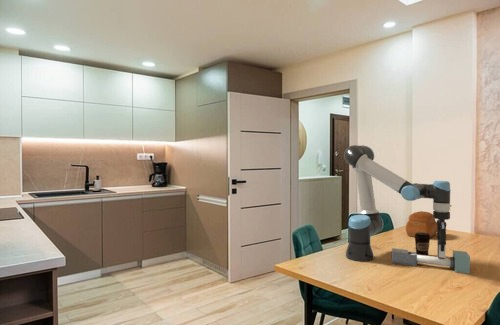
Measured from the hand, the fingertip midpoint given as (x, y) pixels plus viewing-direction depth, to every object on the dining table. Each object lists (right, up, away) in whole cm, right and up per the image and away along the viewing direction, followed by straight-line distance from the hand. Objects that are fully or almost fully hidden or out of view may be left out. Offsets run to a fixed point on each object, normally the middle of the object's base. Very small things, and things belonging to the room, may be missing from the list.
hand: (441, 255), depth 166 cm
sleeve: (-16, -6, +7) cm, 18 cm away
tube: (-3, -7, +1) cm, 7 cm away
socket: (+8, -7, -3) cm, 11 cm away
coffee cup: (+1, -6, +20) cm, 21 cm away
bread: (+26, -6, +68) cm, 73 cm away
